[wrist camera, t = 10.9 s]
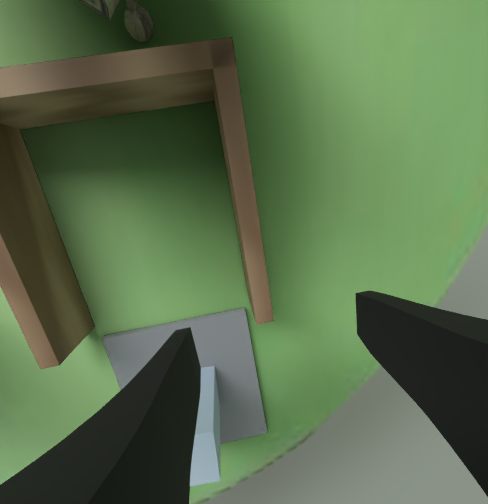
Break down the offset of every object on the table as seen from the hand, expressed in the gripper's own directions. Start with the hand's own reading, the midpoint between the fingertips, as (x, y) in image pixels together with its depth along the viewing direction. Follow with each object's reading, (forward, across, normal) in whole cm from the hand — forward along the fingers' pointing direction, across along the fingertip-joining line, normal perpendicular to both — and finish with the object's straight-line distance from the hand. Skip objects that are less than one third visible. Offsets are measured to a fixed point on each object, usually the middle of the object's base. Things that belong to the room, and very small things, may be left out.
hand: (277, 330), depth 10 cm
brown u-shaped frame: (+10, +7, -5) cm, 13 cm away
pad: (+10, +7, +11) cm, 16 cm away
